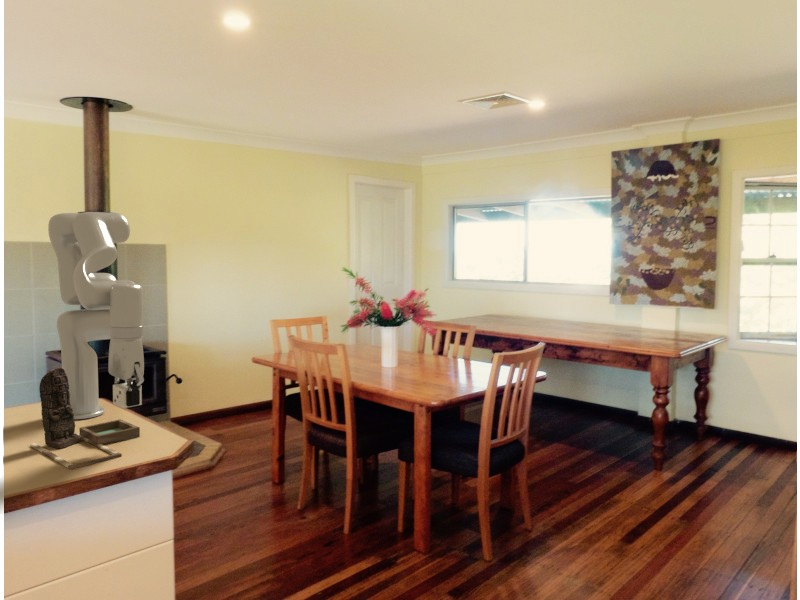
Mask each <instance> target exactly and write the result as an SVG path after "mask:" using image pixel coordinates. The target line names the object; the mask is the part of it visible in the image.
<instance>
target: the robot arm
mask: <svg viewBox="0 0 800 600" xmlns="http://www.w3.org/2000/svg"><path fill="white" fill-rule="evenodd" d="M130 235H131V227H130V223H129V221H128V219H127V217H125V216H124V215H123V214H122V213H120V212H119V213H118V212H104V211H103V212H101V211H85V212H84V211H83V212H81V213H77V212H65V213H64V212H62V213H57V214H54V215H53V216H51V217H50V219H49V221H48V237H49V241H50V244H51V246H52V248H53V250H54V253H55V256H56V259H57V269H58V270H57V271H58V279H59V282H58V283H59V291H60V292H59V293H60V294H59V295H60V298H61V301H62V302H63V303H64V304H66V305H69V306H81V307H83V308H84V309H72V310H67V311H64V312H63V313H61V314H60V315H59V316H58V318H57V320H56V328H57V335H58V337H59V343H60V351H61V352H60V353H61V354H60V355H61V368H63V369H64V371H65V373H66V375H67V378H68V384H69V390H68V391H69V393H70V398H69V399H70V405H71V406H72V407H73V408H72V409H73V412H74V416H73V417H74V421H75V420H85V419H91V418H95V417H98V416H101V415H102V414H104V413H105V407H104V406H102V405H100V404H99V400H100V399H99V368H98V364H99V363H98V362H99V361H98V355H97V352H96V351H95V350H94V348H92V346H90V345H89V342H93V341H103V340H110V341H109V349H108V367H107V368H108V370H107V371H108V373H109V375H111V376H113V378H114V384H113V385H116V384H122V383H127V387H128V391H126V405H127V406H128V408H131V407H130V406H132V407H136V406H135V405H137V406H140V405H139V404H140V389H141V387H140V386H142V384H143V383H144V381H145V378H144V374H145V372H144V371H145V357H144V348H143V347H144V346H143V340H142V339H144V312H143V311H144V302H143V301H144V291H143V287H142V286H141V285H140V284H137V283H135V282H134V281H132V280H129V279H117V278H116V276H115V275H113V274H112V273H109V272H108V273H107V272H98V271H101V270H103V269H105V268H107V267H109V266H111V265H112V264H113V263H114V262H115V261H116V260H117V258H118V254H119V253H118V250H117V247H116V245H115V244H121V243H126V241H128V240H129V237H130ZM131 382H133V383H132V385H131Z"/></svg>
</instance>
